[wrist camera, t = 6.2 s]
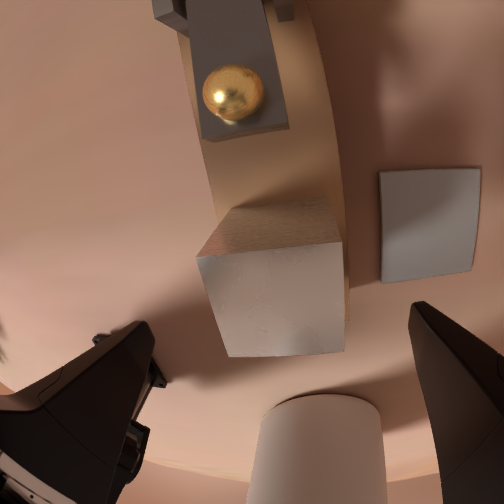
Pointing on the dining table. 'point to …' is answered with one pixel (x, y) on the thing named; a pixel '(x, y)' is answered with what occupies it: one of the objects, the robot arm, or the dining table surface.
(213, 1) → the lever
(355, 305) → the dining table surface
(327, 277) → the cap block
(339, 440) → the cylinder vase
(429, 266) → the rubber mat
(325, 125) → the plane body
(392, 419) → the dining table surface
